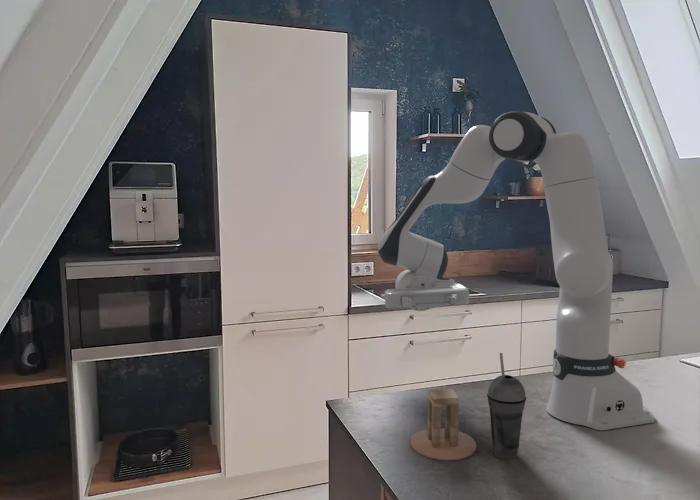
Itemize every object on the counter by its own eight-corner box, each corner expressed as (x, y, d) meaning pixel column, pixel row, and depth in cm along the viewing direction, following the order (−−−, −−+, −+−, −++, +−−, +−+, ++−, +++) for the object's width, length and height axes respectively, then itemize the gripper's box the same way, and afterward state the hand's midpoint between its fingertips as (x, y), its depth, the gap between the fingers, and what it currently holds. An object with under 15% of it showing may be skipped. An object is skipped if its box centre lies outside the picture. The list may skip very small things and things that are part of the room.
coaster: (464, 429, 117) (465, 426, 117) (485, 458, 104) (485, 455, 104) (405, 432, 116) (405, 429, 116) (418, 462, 103) (418, 459, 103)
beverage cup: (527, 464, 102) (529, 360, 100) (486, 461, 103) (488, 358, 101) (522, 446, 109) (525, 349, 107) (485, 443, 110) (486, 347, 108)
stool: (451, 435, 113) (451, 388, 112) (458, 446, 108) (458, 397, 107) (427, 436, 112) (427, 389, 111) (433, 448, 107) (433, 398, 106)
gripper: (378, 282, 136) (387, 291, 123) (459, 278, 138) (476, 287, 124) (379, 307, 137) (388, 319, 123) (459, 303, 139) (476, 314, 125)
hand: (433, 302), depth 124 cm, fingers open, 8 cm apart
